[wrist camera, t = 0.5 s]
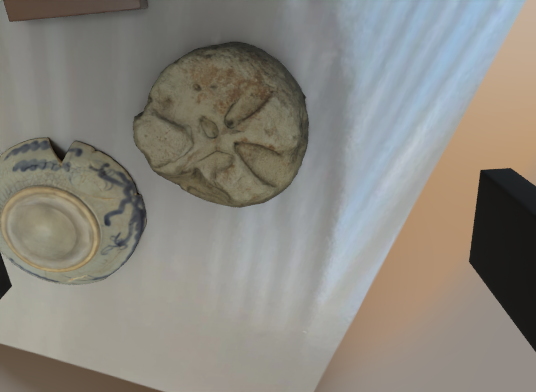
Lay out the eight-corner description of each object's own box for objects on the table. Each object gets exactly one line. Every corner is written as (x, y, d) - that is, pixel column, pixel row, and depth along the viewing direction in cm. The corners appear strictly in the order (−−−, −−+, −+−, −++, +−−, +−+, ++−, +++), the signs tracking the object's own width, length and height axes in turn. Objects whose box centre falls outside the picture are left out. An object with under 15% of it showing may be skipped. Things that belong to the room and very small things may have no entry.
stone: (253, 217, 43) (252, 245, 38) (126, 139, 40) (107, 159, 35) (339, 102, 39) (350, 116, 34) (205, 5, 36) (196, 6, 31)
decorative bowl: (20, 292, 47) (164, 270, 45) (0, 314, 43) (155, 292, 42) (-43, 151, 41) (120, 123, 40) (-72, 164, 38) (105, 134, 36)
